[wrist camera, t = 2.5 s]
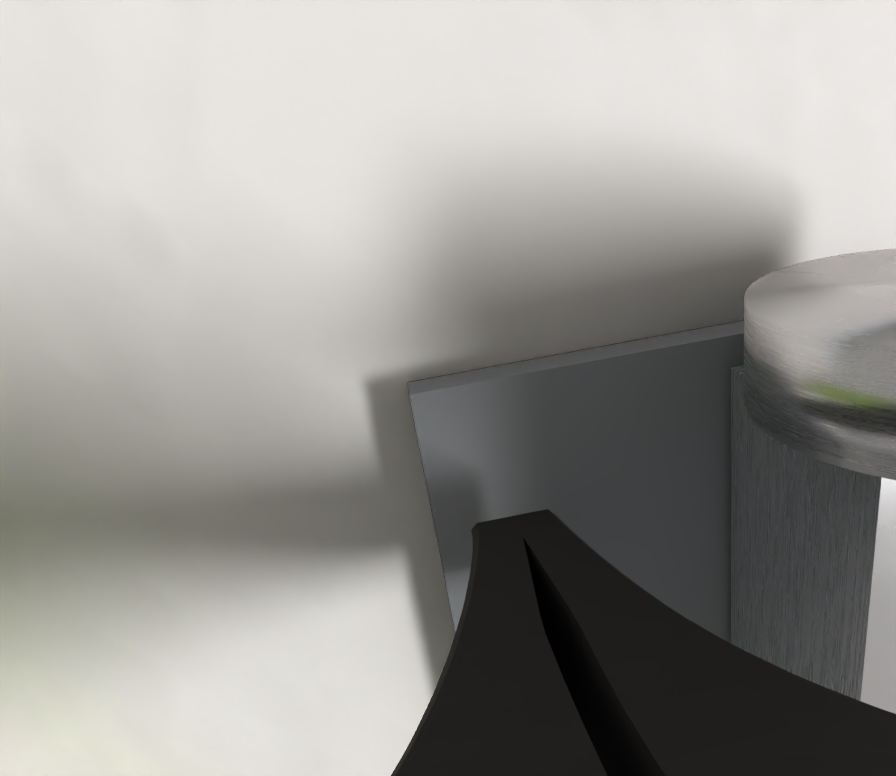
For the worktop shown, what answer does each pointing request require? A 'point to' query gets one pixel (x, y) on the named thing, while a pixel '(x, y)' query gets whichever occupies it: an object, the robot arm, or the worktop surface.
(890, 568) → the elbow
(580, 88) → the worktop surface
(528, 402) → the duct board
